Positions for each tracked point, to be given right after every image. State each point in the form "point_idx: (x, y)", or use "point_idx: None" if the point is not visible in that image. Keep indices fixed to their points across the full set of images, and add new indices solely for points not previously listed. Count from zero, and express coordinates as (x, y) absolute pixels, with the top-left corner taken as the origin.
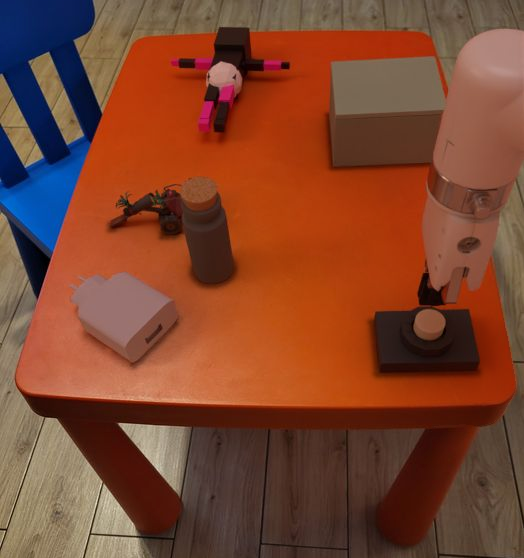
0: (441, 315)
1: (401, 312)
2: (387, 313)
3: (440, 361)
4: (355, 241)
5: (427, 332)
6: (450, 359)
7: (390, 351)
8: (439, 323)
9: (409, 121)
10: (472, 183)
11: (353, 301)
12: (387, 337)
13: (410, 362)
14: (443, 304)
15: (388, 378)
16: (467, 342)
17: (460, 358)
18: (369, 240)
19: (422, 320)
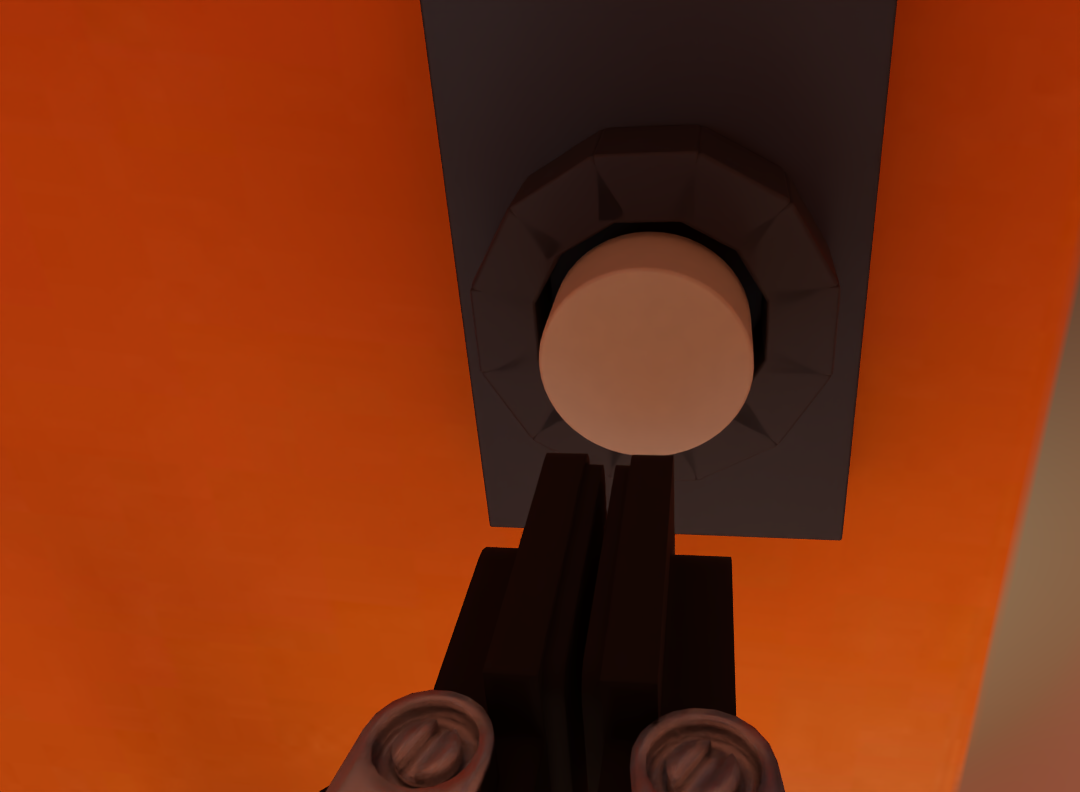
0: (593, 288)
1: (488, 407)
2: (499, 474)
3: (868, 228)
4: (32, 498)
5: (745, 397)
6: (858, 160)
7: (764, 490)
8: (670, 313)
9: None
10: None
11: (396, 542)
12: None
13: (852, 400)
14: (673, 474)
15: (872, 446)
16: (723, 22)
17: (857, 89)
18: (3, 439)
19: (641, 417)
